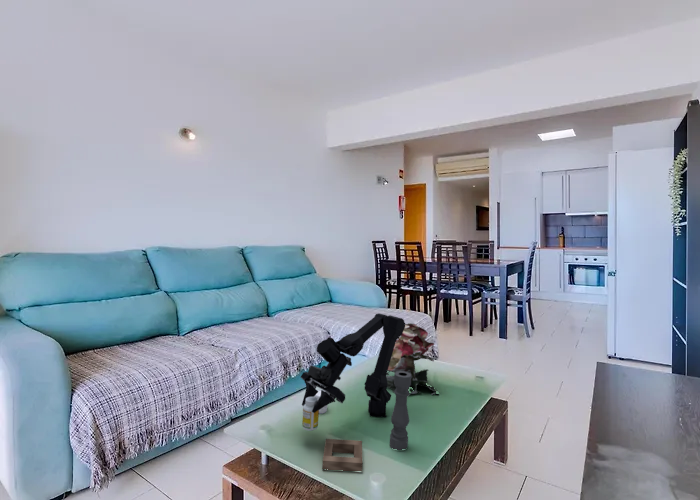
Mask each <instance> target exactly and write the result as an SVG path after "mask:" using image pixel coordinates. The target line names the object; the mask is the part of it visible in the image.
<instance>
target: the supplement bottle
mask: <svg viewBox="0 0 700 500" xmlns="http://www.w3.org/2000/svg"><path fill="white" fill-rule="evenodd" d="M305 403H306V404H305V405H304V406H302V420H301V421H302V424H301V426H302V429H304V430H305V431H314V430H317V429H318V428H319V414H320V413H319V410H318V411H317V412H315V413H313V412H312V410H313V408H314V406H315V404H316V403H317V398H316V397H307V398H306V401H305Z"/></svg>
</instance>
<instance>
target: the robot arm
mask: <svg viewBox="0 0 700 500" xmlns="http://www.w3.org/2000/svg"><path fill="white" fill-rule="evenodd" d="M405 324H406V322H405V320H404V318H401V317H397V316H395V315H391V314H390V315H387V314H383V313H379V312H378V313H376V314H375V315H374V317H373V318H371V319H370V320H369V321H367V322H366V323H365V324H364V325H363V326H362V327H360V328H359V329H358V330H356V331H355V332H351V333H348V334H346V335H344V336H343V337H342V338H340V339H339V340H337V341H335V339H334V338H333V337H330V336H328V337H327V338H326V339H324V340H321V342H319V343H318V344H317V346H316V352H317V354H318V355H320V356H321V357H322V358H323V359H324V361H326V362H327V364H326V365H322V366H321V368H320V367H318V366H315V365H312V364H311V365H310V366H309V368H308V371H304V372H302V374H301V375H300V378H301V379H302V381H304V384H305V392H304V396H303V400H302V403H301V405H302V407H303V406H304V405H305V404H306V403H305V401H306V398H307V397H314V396H315V395H316V394H317V393H318V391H317V390H318V389H316V388H319V389H320V390H321V396H320V398H319V400H318V401H317V403H316V404H315V406H314V408H313V410H312V412H313V413H315V412H317V411H318V410H320V409H321V408H323V407H324V406H326V405H328V406H329V405H330V404H332V403H335V402H336V401H337V402H338V403H340V404H343V403H344V401H345V400H346V394H345V393H344V392H343V391H342V390H341V389H340V388H339V387H337V386H336V385H335V384H336V382H337V381H340V380H341V379H342V378H341V375H342V373H343V371H344V370H345V368H346V367H347V366H349V367H352V365H353V364H352V358H351V357H356V356H358V355H359V353H360V352H361V351H362V350H363V348H364V344H365V343H366V342H367V341H368V340H369V339H370V338H372V337H373V336H374V335H375V334H376V333H377V332H378V331H380V330H381V329H382V331H383V340H382V343H381V347H380V350H379V353H378V357H377V359H376V360H377V361H376V362H375V363H376V364H375V367H374V371H373V372H372V373H370V374H367V375H366V379H365V382H364V390H365V394H366V396H367V397H369V398H370V399H369V400H368V407H367V408H368V409H367V412H368V413H369V417H371V418H387V404H388V403H389V401H391V398H392V394H391V393H390V392H389V391H388V387H387V385H388V383H387V378H386V376H387V375H386V374H387V373H388V371H387V370H388V367H389V364H390V360H391V357H392V353H393V350H394V346H395V343H396V340H398V338H399V337H401V335H402V333H403V331H404V328H405ZM323 390H324V391H323Z"/></svg>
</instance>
